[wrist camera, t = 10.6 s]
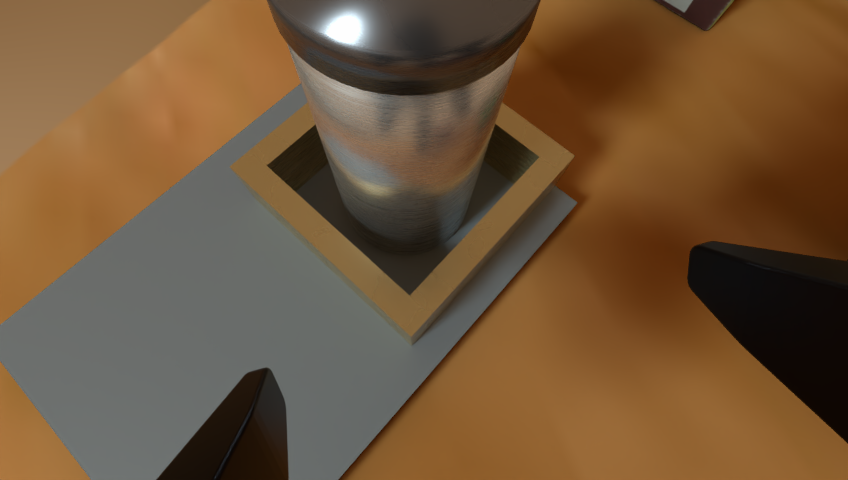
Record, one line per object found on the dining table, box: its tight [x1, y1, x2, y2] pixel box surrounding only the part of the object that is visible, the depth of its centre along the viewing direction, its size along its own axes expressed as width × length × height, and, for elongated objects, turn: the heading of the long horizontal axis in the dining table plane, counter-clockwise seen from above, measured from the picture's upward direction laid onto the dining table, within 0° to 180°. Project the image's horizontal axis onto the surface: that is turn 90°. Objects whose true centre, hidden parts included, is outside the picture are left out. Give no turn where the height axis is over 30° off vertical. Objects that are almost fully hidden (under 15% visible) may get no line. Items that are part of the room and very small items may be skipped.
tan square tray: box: [230, 102, 575, 346], centre depth 18 cm, size 10×10×3 cm
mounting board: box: [0, 84, 577, 480], centre depth 19 cm, size 14×21×1 cm, turn 138°
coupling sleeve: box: [267, 0, 540, 255], centre depth 14 cm, size 6×6×12 cm
